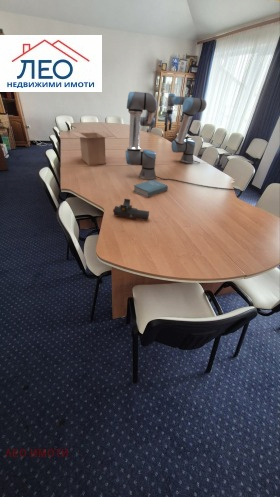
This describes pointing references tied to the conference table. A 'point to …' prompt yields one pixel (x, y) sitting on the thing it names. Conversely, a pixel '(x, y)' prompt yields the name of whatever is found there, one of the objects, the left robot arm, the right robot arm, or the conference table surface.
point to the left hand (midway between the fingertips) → (134, 153)
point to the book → (150, 188)
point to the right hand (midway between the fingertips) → (167, 130)
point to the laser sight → (130, 211)
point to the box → (92, 146)
